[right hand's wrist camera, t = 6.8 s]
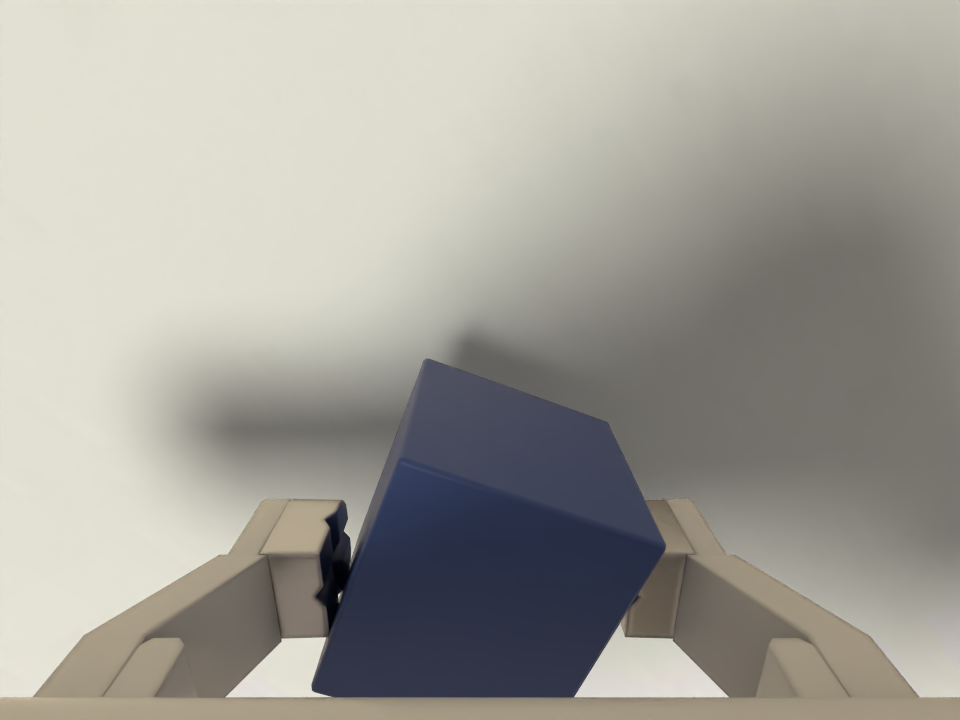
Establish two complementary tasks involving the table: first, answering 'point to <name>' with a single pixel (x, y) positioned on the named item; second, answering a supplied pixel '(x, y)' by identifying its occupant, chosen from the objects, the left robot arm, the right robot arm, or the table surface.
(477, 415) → the block
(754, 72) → the table surface
